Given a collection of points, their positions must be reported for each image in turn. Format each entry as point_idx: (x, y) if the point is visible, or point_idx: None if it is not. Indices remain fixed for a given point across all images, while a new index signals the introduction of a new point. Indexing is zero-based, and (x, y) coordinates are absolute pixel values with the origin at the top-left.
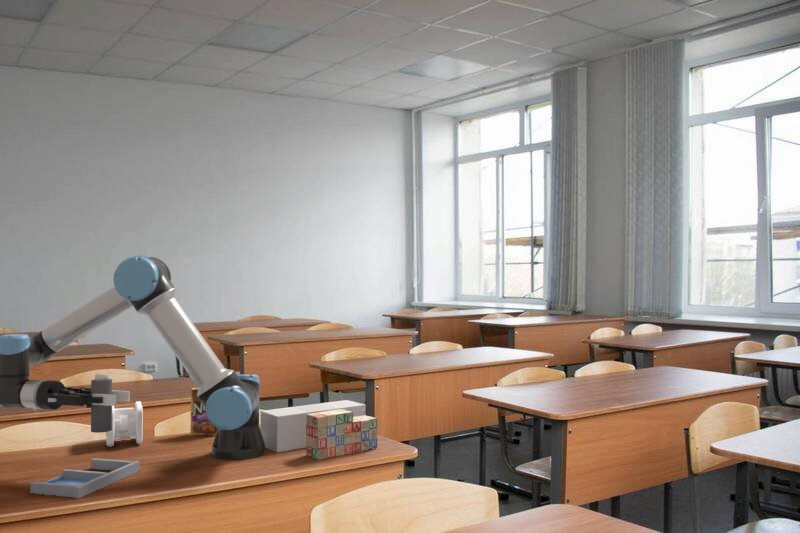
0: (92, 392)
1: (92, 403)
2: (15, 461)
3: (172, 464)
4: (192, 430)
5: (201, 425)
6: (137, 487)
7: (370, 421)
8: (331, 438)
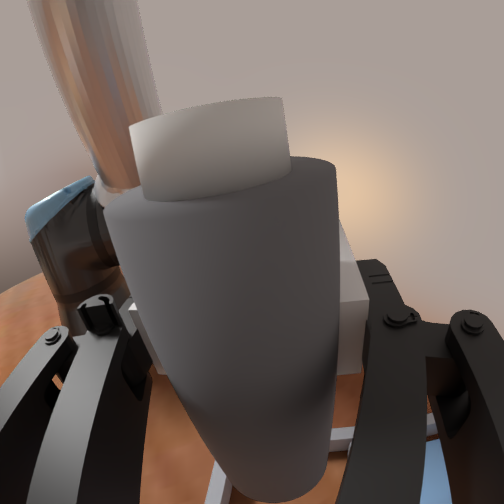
0: (336, 309)
1: (360, 364)
2: None
3: (165, 397)
4: None
5: None
6: (355, 376)
7: None
8: None
